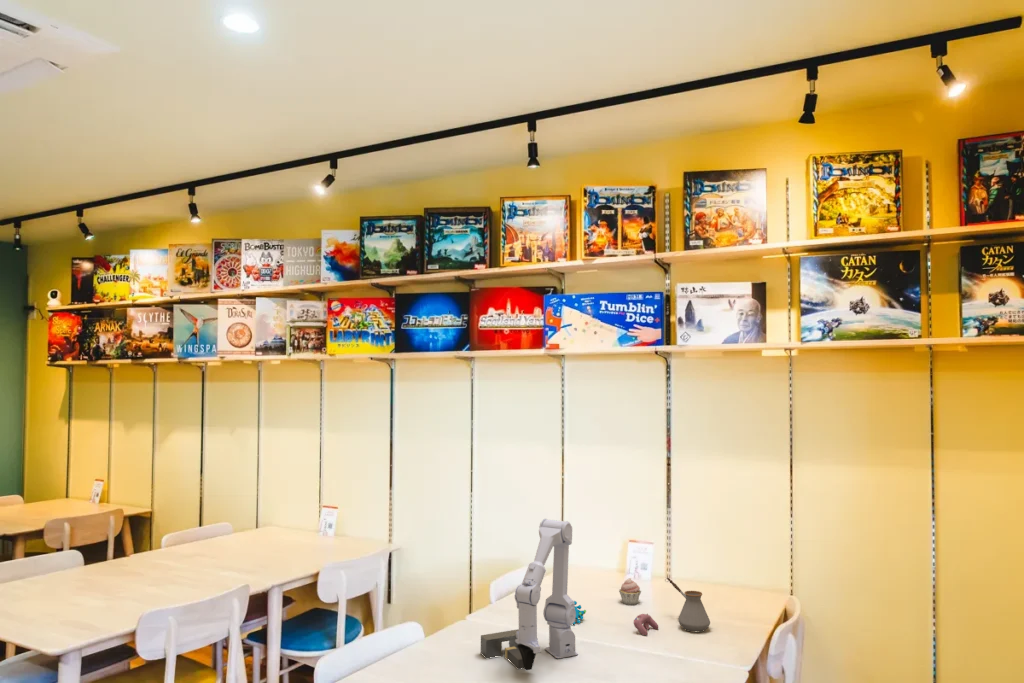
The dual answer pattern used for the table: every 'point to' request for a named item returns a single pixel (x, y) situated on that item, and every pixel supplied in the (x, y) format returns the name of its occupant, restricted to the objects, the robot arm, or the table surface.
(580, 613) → the spiky virus model
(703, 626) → the coffee pot
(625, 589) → the cupcake
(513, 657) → the grey rectangular bar
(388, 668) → the table surface
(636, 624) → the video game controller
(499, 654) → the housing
